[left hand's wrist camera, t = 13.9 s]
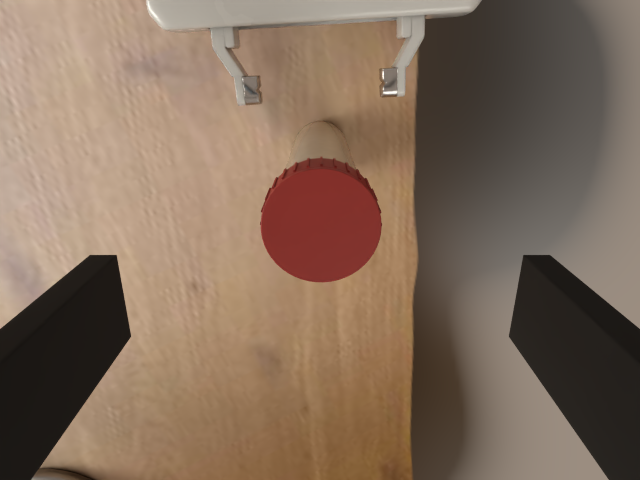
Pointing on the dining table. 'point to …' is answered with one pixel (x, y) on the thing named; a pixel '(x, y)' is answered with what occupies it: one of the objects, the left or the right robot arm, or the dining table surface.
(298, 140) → the cream slim bottle
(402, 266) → the dining table surface
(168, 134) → the dining table surface
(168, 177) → the dining table surface
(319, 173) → the lid
